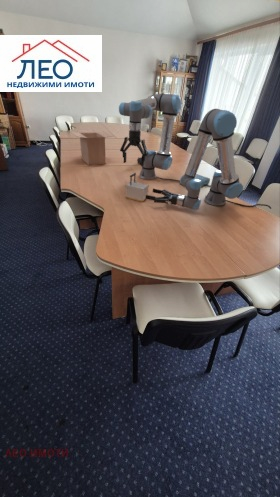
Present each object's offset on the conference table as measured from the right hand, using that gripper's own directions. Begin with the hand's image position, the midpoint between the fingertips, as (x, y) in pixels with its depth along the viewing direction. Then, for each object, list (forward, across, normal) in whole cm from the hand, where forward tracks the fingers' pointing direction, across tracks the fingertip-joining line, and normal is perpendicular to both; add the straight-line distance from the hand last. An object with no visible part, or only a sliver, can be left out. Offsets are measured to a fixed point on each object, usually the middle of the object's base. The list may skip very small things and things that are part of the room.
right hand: (149, 193), depth 160 cm
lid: (+11, +1, +3) cm, 11 cm away
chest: (+10, +1, -6) cm, 12 cm away
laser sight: (+37, +87, -6) cm, 95 cm away
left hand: (+14, +1, +18) cm, 23 cm away
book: (-22, +56, -6) cm, 61 cm away
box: (+90, +63, -6) cm, 110 cm away
